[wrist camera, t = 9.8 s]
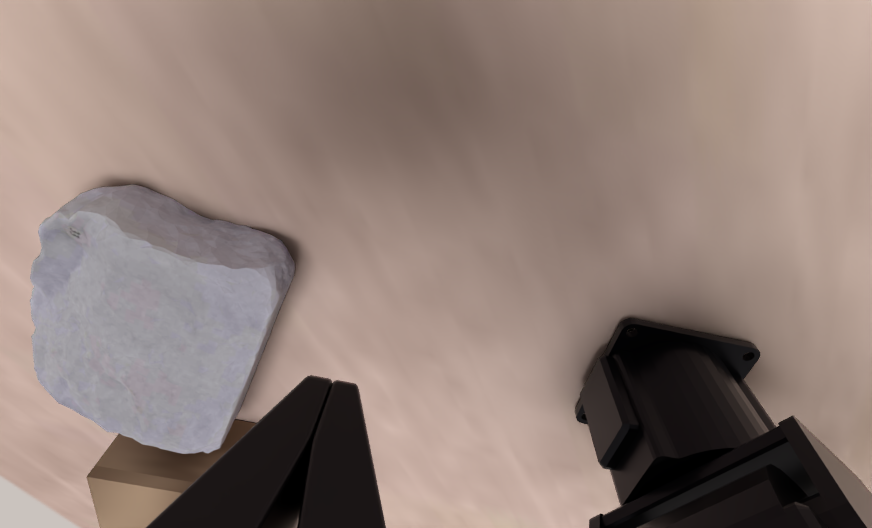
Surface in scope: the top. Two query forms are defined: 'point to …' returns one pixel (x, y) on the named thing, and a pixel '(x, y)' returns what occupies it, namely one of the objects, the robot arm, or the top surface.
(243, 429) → the shelf
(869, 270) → the top surface
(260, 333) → the stone block
